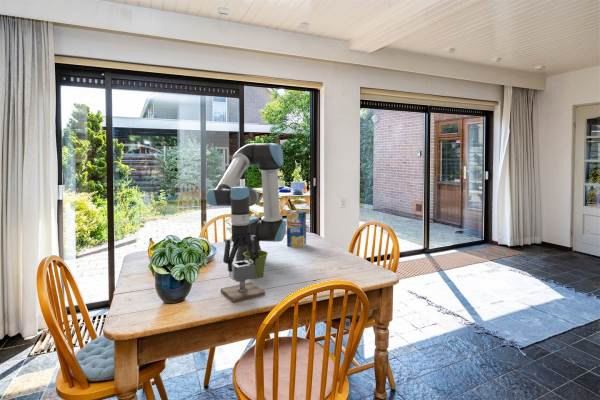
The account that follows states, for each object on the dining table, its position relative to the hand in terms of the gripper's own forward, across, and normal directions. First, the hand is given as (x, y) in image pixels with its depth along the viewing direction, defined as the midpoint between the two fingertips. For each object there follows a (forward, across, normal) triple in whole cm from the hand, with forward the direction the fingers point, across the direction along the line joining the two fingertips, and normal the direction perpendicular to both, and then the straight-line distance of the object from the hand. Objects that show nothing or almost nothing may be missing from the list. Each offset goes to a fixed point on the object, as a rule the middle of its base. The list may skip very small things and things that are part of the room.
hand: (242, 276), depth 152 cm
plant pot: (+8, +15, +17) cm, 24 cm away
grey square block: (0, 0, 0) cm, 0 cm away
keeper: (+7, 0, 0) cm, 7 cm away
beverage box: (+7, +63, +54) cm, 84 cm away
